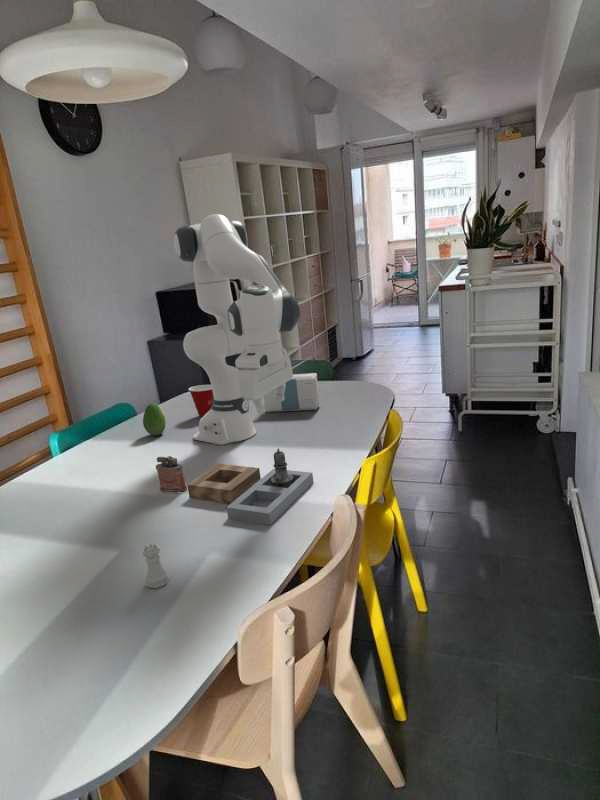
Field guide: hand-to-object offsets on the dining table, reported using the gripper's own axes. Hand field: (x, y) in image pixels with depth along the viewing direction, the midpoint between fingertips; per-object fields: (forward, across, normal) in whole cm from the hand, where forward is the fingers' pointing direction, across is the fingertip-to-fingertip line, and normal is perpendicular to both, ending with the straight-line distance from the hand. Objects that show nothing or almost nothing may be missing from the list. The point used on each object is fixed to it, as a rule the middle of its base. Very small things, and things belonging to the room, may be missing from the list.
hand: (271, 406), depth 138 cm
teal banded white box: (+24, -64, -30) cm, 75 cm away
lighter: (+23, +8, -30) cm, 39 cm away
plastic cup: (+24, -52, -64) cm, 85 cm away
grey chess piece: (+23, +1, +1) cm, 23 cm away
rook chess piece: (+23, +44, -4) cm, 50 cm away
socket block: (+23, +4, -15) cm, 28 cm away
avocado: (+24, -29, -70) cm, 79 cm away
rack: (+23, +6, +1) cm, 24 cm away
